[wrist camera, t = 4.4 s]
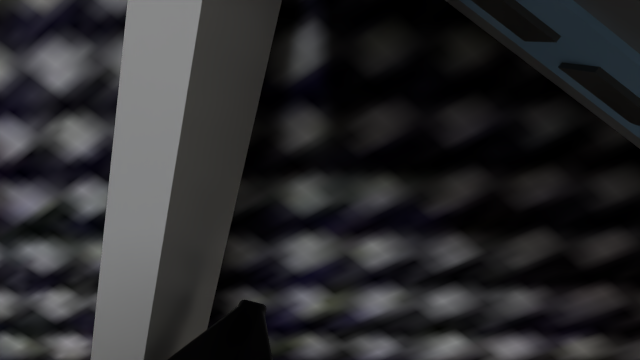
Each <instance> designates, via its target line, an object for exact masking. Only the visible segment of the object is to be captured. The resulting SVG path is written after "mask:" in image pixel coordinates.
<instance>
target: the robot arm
mask: <svg viewBox="0 0 640 360" xmlns="http://www.w3.org/2000/svg"><path fill="white" fill-rule="evenodd" d="M265 314H266V306H265V305H264V304H260V303H256V302H252V301H248V300H242V301H241V302H240V303H239V305H238V307H236V308H235V309H234V310H232V311H231V312H230V313H228V314H227V315H226V316H224V317H223V318H222V319H220V320H219V321H218V322H216V323H215V324H214V325H212V326H211V327H210V328H208V329H207V330H206V331H204V332H203V333H202V334H200V335H199V336H198V337H196V338H195V339H194V340H192V341H191V342H190V343H188V344H187V345H186V346H184V347H183V348H182V349H180V350H179V351H178V352H176V353H175V354H174V355H172V356H171V357H170V358H168V359H167V360H272V355H271V350H270V344H269V338H268V332H267V327H266V321H265Z"/></svg>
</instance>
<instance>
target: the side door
mask: <svg viewBox="0 0 640 360" xmlns="http://www.w3.org/2000/svg"><path fill="white" fill-rule="evenodd" d="M281 2H282V0H128V4H127V13H126V23H125V33H124V43H123V52H122V62H121V72H120V81H119V91H118V101H117V110H116V120H115V130H114V139H113V149H112V159H111V169H110V178H109V188H108V198H107V207H106V217H105V227H104V236H103V246H102V256H101V265H100V275H99V285H98V295H97V304H96V314H95V324H94V333H93V343H92V353H91V360H167V359H168V358H170V357H171V356H172V355H174V354H175V353H176V352H178V351H179V350H180V349H182V348H183V347H184V346H186V345H187V344H188V343H190V342H191V341H192V340H194V339H195V338H196V337H198V336H199V335H200V334H202V333H203V332H204V331H206V330H207V327H208V323H209V318H210V314H211V310H212V305H213V301H214V296H215V292H216V288H217V283H218V279H219V274H220V270H221V266H222V261H223V257H224V252H225V248H226V244H227V239H228V235H229V230H230V226H231V222H232V217H233V213H234V208H235V204H236V200H237V195H238V191H239V187H240V182H241V178H242V173H243V169H244V165H245V160H246V156H247V151H248V147H249V143H250V138H251V134H252V129H253V125H254V121H255V116H256V112H257V107H258V103H259V99H260V94H261V90H262V85H263V81H264V77H265V72H266V68H267V63H268V59H269V55H270V50H271V46H272V41H273V37H274V33H275V28H276V24H277V20H278V15H279V11H280V6H281Z"/></svg>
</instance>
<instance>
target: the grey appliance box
mask: <svg viewBox="0 0 640 360" xmlns="http://www.w3.org/2000/svg"><path fill="white" fill-rule="evenodd" d="M445 1H446V2H448V3H449V4H450V5H452V6H453V7H454V8H456V9H457V10H458V11H459V12H461V13H462V14H463V15H465V16H466V17H467V18H469V19H470V20H471V21H473V22H474V23H475V24H477V25H478V26H479V27H481V28H482V29H483V30H484V31H486V32H487V33H488V34H490V35H491V36H492V37H494V38H495V39H496V40H498V41H499V42H500V43H502V44H503V45H504V46H505V47H507V48H508V49H509V50H511V51H512V52H513V53H515V54H516V55H517V56H519V57H520V58H521V59H523V60H524V61H525V62H526V63H528V64H529V65H530V66H532V67H533V68H534V69H536V70H537V71H538V72H540V73H541V74H542V75H544V76H545V77H546V78H547V79H549V80H550V81H551V82H553V83H554V84H555V85H557V86H558V87H559V88H561V89H562V90H563V91H565V92H566V93H567V94H568V95H570V96H571V97H572V98H574V99H575V100H576V101H578V102H579V103H580V104H582V105H583V106H584V107H586V108H587V109H588V110H590V111H591V112H592V113H593V114H595V115H596V116H597V117H599V118H600V119H601V120H603V121H604V122H605V123H607V124H608V125H609V126H611V127H612V128H613V129H614V130H616V131H617V132H618V133H620V134H621V135H622V136H624V137H625V138H626V139H628V140H629V141H630V142H632V143H633V144H634V145H635V146H637V147H638V148H639V149H640V0H445Z"/></svg>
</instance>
